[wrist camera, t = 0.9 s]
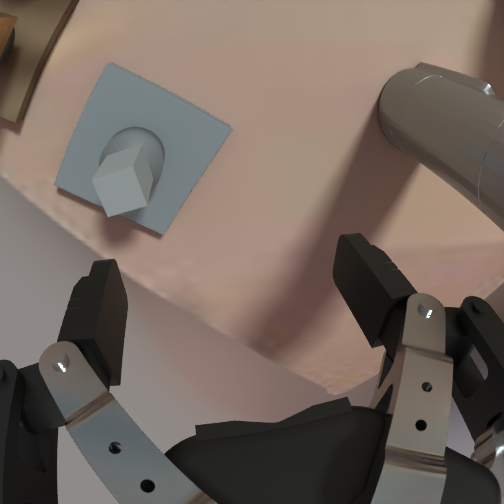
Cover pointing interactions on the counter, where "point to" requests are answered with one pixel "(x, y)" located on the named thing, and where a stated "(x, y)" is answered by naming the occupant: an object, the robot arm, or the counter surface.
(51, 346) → the robot arm
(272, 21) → the counter surface
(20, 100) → the stand
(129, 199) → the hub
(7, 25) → the square wooden frame
